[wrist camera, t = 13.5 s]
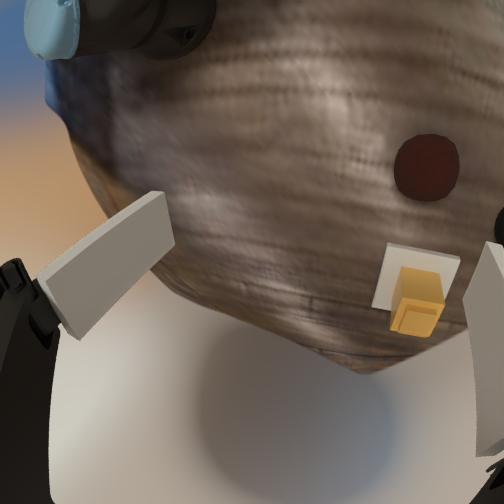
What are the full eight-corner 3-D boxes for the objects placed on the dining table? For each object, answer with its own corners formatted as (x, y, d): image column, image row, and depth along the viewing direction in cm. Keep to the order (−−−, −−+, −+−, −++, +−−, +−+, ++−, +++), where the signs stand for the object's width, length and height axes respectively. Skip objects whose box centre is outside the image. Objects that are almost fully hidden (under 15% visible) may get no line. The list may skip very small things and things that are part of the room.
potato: (377, 156, 34) (378, 174, 28) (428, 113, 28) (442, 121, 22) (415, 202, 34) (422, 229, 29) (465, 163, 29) (483, 183, 23)
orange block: (391, 298, 43) (389, 336, 37) (401, 266, 39) (402, 303, 33) (427, 304, 41) (429, 342, 34) (439, 273, 37) (445, 311, 31)
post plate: (371, 303, 46) (368, 328, 41) (387, 242, 39) (387, 266, 35) (435, 314, 42) (437, 340, 37) (459, 256, 35) (467, 281, 31)
